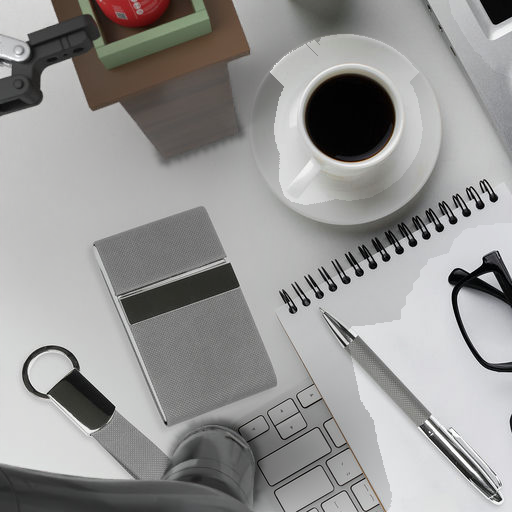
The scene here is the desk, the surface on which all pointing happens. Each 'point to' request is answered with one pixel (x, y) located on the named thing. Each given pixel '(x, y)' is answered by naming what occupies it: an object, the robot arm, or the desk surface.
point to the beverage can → (133, 11)
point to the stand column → (186, 112)
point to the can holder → (154, 48)
